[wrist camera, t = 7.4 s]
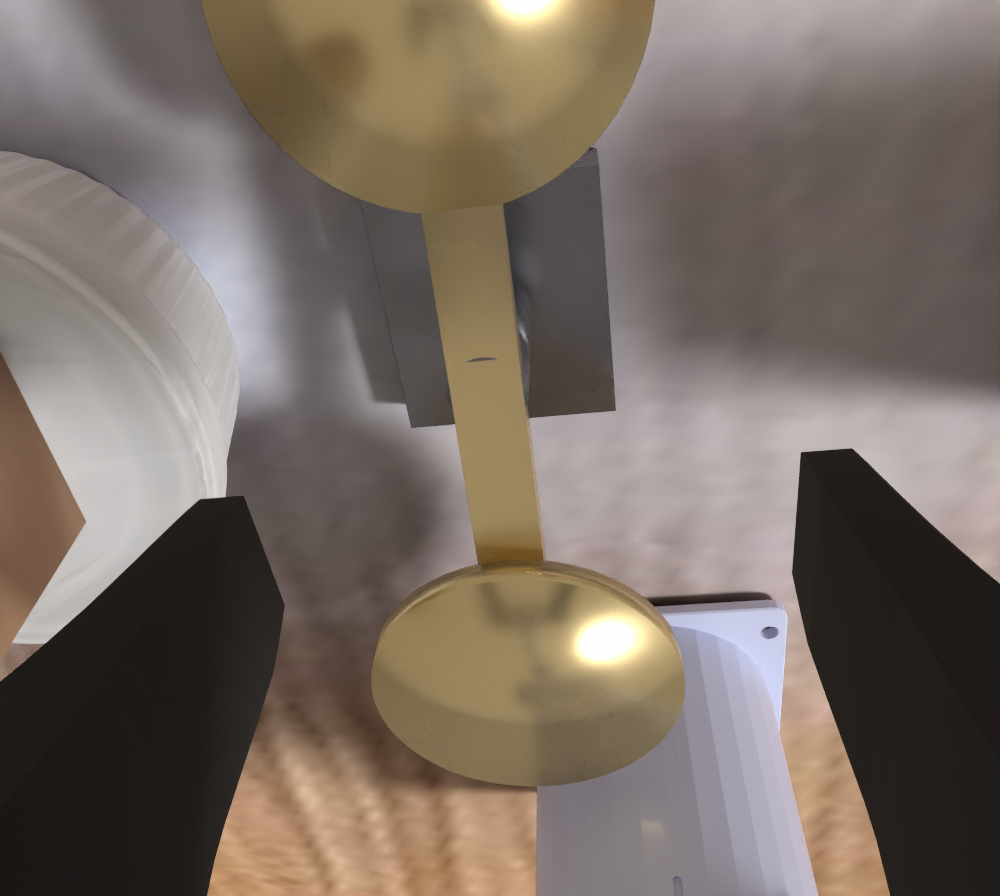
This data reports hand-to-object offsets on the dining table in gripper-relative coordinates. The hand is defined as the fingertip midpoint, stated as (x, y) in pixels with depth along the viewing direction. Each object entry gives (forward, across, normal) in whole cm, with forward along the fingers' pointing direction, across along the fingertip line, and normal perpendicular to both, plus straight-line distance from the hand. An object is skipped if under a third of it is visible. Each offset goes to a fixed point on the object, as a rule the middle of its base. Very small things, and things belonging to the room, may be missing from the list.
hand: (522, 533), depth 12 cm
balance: (+10, +1, +2) cm, 11 cm away
